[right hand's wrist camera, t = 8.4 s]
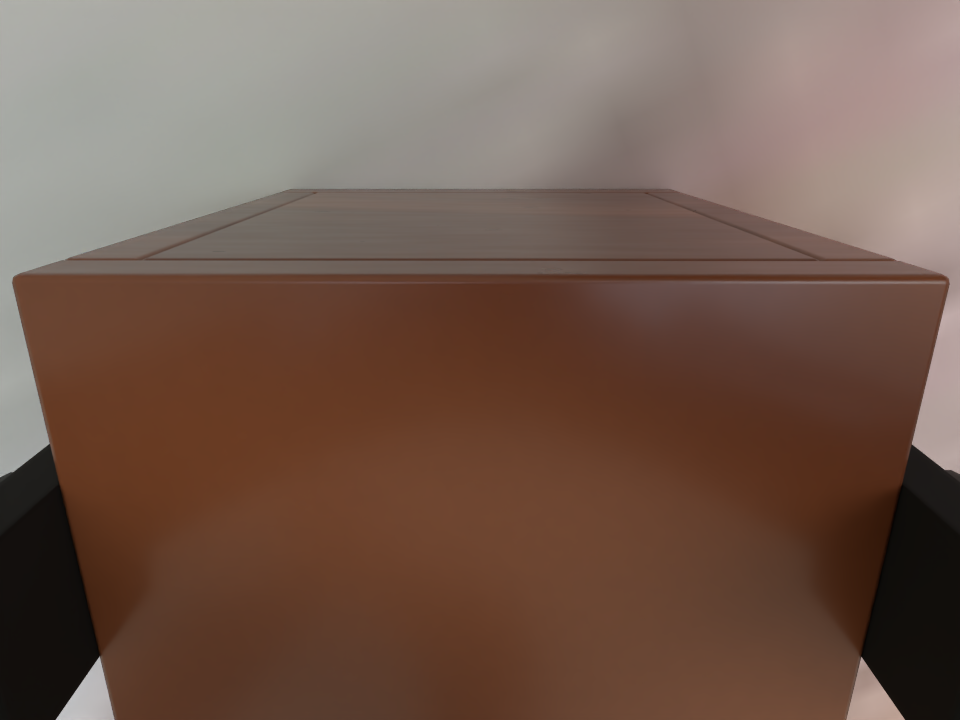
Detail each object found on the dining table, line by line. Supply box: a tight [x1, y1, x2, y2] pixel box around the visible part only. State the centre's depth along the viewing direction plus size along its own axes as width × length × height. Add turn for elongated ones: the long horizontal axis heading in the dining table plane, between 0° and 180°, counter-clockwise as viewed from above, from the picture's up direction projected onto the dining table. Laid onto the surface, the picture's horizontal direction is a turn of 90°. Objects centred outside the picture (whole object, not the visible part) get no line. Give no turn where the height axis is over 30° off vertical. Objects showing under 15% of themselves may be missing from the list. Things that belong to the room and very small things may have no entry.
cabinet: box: [12, 189, 949, 720], centre depth 16 cm, size 20×11×12 cm, turn 0°
